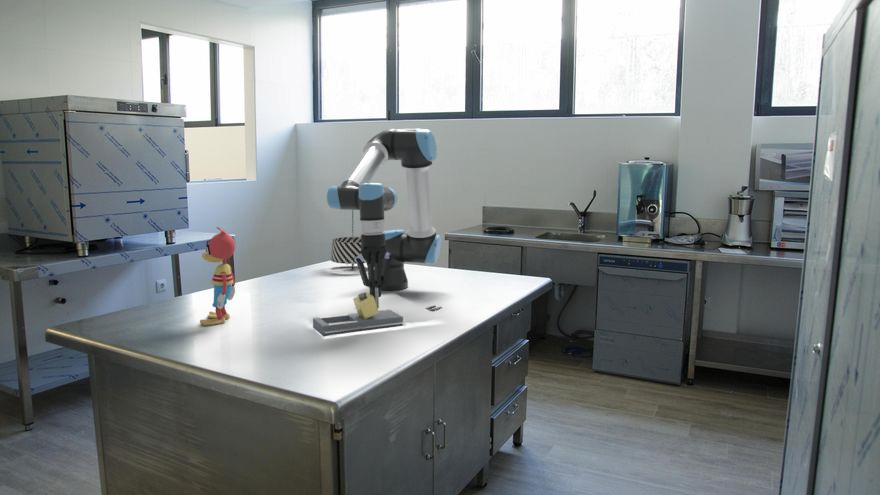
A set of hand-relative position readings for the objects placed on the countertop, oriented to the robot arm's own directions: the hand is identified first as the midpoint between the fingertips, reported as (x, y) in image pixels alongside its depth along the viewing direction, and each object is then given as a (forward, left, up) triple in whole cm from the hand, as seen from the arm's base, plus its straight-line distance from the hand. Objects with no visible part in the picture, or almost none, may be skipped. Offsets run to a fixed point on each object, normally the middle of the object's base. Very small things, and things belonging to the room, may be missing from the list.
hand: (375, 307), depth 192 cm
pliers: (-19, -9, -6) cm, 22 cm away
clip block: (+2, 0, -2) cm, 3 cm away
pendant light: (-27, -93, -6) cm, 97 cm away
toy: (+43, -26, -6) cm, 50 cm away
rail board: (+6, -1, -6) cm, 8 cm away
